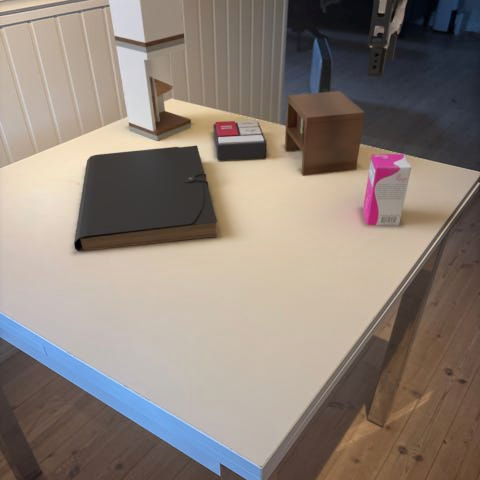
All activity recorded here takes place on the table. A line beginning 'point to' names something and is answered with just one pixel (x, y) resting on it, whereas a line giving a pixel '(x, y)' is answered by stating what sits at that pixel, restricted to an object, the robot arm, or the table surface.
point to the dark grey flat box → (239, 140)
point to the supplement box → (386, 189)
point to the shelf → (324, 131)
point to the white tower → (148, 62)
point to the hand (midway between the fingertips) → (380, 68)
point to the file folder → (144, 199)
